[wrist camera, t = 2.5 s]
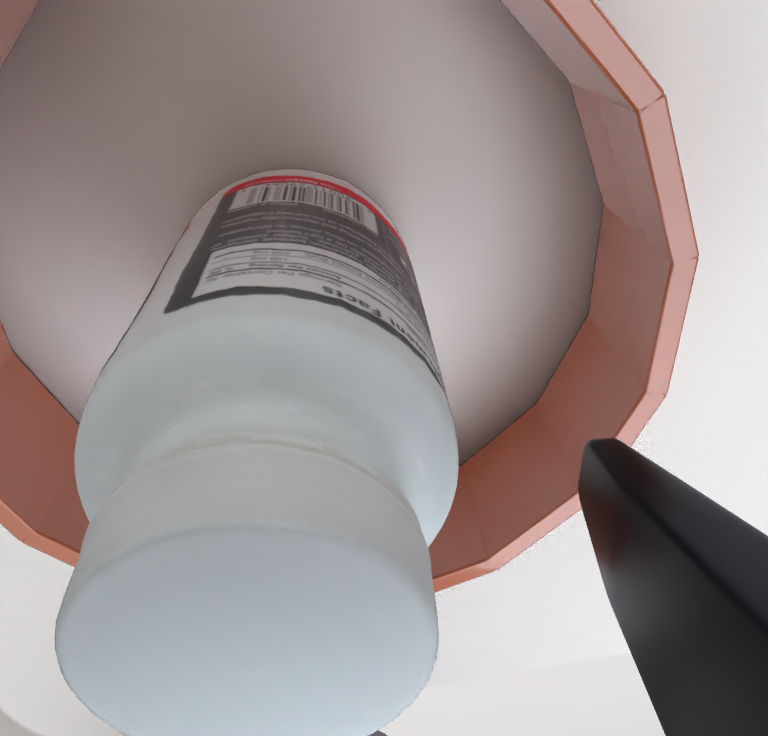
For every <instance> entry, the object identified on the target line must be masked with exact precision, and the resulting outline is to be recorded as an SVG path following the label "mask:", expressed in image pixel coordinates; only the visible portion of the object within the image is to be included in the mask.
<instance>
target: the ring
mask: <svg viewBox="0 0 768 736" xmlns="http://www.w3.org/2000/svg"><path fill="white" fill-rule="evenodd" d="M500 1H501V2H502V3H503V5H504V6H505V7H506V8H507V9H508V10H509V12H510V13H511V14H512V15H513V16H514V17H515V19H516V20H517V21H518V22H519V23H520V24H521V26H522V27H523V28H524V29H525V30H526V32H527V33H528V34H529V35H530V36H531V37H532V39H533V40H534V41H535V42H536V43H537V44H538V46H539V47H540V48H541V49H542V50H543V51H544V53H545V54H546V55H547V56H548V57H549V59H550V60H551V61H552V62H553V63H554V64H555V66H556V67H557V68H558V69H559V70H560V71H561V73H562V74H563V75H564V76H565V77H566V78H567V80H568V81H569V83H570V86H571V90H572V93H573V97H574V100H575V104H576V108H577V111H578V115H579V118H580V122H581V125H582V129H583V132H584V136H585V139H586V143H587V147H588V150H589V154H590V157H591V161H592V164H593V168H594V171H595V175H596V178H597V182H598V186H599V189H600V193H601V196H602V200H603V203H604V207H603V214H602V222H601V229H600V236H599V243H598V250H597V257H596V264H595V271H594V278H593V285H592V293H591V300H590V307H589V314H588V316H587V318H586V320H585V321H584V323H583V325H582V326H581V328H580V330H579V332H578V333H577V335H576V337H575V339H574V340H573V342H572V344H571V345H570V347H569V349H568V351H567V352H566V354H565V356H564V357H563V359H562V361H561V363H560V364H559V366H558V368H557V370H556V371H555V373H554V375H553V376H552V378H551V380H550V382H549V383H548V385H547V387H546V388H545V390H544V392H543V394H542V395H541V397H540V399H539V400H538V402H537V404H535V405H534V406H533V407H532V408H531V409H529V410H528V411H527V412H526V413H524V414H523V415H522V416H521V417H520V418H518V419H517V420H516V421H515V422H514V423H512V424H511V425H510V426H509V427H508V428H506V429H505V430H504V431H503V432H502V433H500V434H499V435H498V436H497V437H496V438H494V439H493V440H492V441H491V442H490V443H488V444H487V445H486V446H485V447H483V448H482V449H481V450H480V451H479V452H477V453H476V454H475V455H474V456H473V457H471V458H470V459H469V460H468V461H467V462H465V463H464V464H463V465H461V466H459V469H458V480H457V487H456V492H455V496H454V499H453V502H452V506H451V509H450V511H449V513H448V516H447V518H446V520H445V522H444V524H443V526H442V528H441V529H440V531H439V532H438V534H437V536H436V537H435V539H434V540H433V542H432V543H431V545H430V546H429V547H428V549H429V555H430V561H431V573H432V580H433V587H434V593H435V592H438V591H440V590H443V589H446V588H449V587H452V586H454V585H457V584H460V583H463V582H466V581H469V580H471V579H474V578H477V577H480V576H483V575H485V574H488V573H491V572H494V571H495V570H498V569H500V568H501V567H502V566H504V565H505V564H507V563H508V562H509V561H511V560H512V559H513V558H515V557H516V556H518V555H519V554H520V553H522V552H523V551H524V550H526V549H527V548H528V547H530V546H531V545H533V544H534V543H535V542H537V541H538V540H539V539H541V538H542V537H544V536H545V535H546V534H548V533H549V532H550V531H552V530H553V529H555V528H556V527H557V526H559V525H560V524H561V523H563V522H564V521H565V520H567V519H568V518H570V517H571V516H572V515H574V514H575V513H576V512H578V511H579V510H581V509H582V507H581V503H580V499H579V494H578V481H579V475H580V468H581V462H582V456H583V449H584V446H585V444H586V442H587V441H589V440H591V439H604V438H615V439H618V440H620V441H622V442H623V443H625V444H626V445H628V446H629V447H631V445H632V444H633V443H634V441H635V440H636V438H637V437H638V435H639V434H640V433H641V431H642V430H643V428H644V427H645V425H646V424H647V423H648V421H649V420H650V418H651V417H652V415H653V414H654V413H655V411H656V410H657V408H658V407H659V405H660V404H661V402H662V401H663V400H664V398H665V397H666V394H667V392H668V389H669V384H670V380H671V375H672V371H673V367H674V362H675V358H676V354H677V349H678V345H679V341H680V336H681V332H682V328H683V323H684V319H685V314H686V310H687V306H688V301H689V297H690V293H691V288H692V284H693V280H694V275H695V271H696V267H697V262H698V256H699V252H698V248H697V243H696V238H695V233H694V228H693V223H692V219H691V214H690V209H689V204H688V199H687V195H686V190H685V185H684V180H683V175H682V171H681V166H680V161H679V156H678V151H677V147H676V142H675V137H674V132H673V127H672V122H671V118H670V113H669V108H668V103H667V98H666V95H665V94H664V91H663V89H662V88H661V86H660V85H659V84H658V82H657V81H656V80H655V79H654V77H653V76H652V75H651V73H650V72H649V71H648V70H647V68H646V67H645V66H644V64H643V63H642V62H641V61H640V59H639V58H638V57H637V55H636V54H635V53H634V52H633V50H632V49H631V48H630V46H629V45H628V44H627V43H626V41H625V40H624V39H623V37H622V36H621V35H620V34H619V32H618V31H617V30H616V28H615V27H614V26H613V25H612V23H611V22H610V21H609V19H608V18H607V17H606V16H605V14H604V13H603V12H602V10H601V9H600V8H599V7H598V5H597V4H596V3H595V1H594V0H500ZM38 2H39V0H0V68H1V66H2V65H3V63H4V61H5V59H6V58H7V56H8V54H9V52H10V51H11V49H12V47H13V45H14V44H15V42H16V40H17V38H18V37H19V35H20V33H21V32H22V30H23V28H24V26H25V25H26V23H27V21H28V19H29V18H30V16H31V14H32V12H33V11H34V9H35V7H36V5H37V4H38ZM78 429H79V424H78V423H77V422H76V421H75V420H74V418H73V417H72V416H71V415H70V414H69V413H68V412H67V411H66V410H65V409H64V408H63V406H62V405H61V404H60V403H59V402H58V401H57V400H56V399H55V398H54V397H53V396H52V394H51V393H50V392H49V391H48V390H47V389H46V388H45V387H44V386H43V385H42V384H41V382H40V381H39V380H38V379H37V378H36V377H35V376H34V375H33V374H32V373H31V372H30V370H29V369H28V368H27V367H26V366H25V365H24V364H23V363H22V362H21V361H20V360H19V358H18V357H17V356H16V355H15V354H14V353H13V351H12V349H11V346H10V344H9V341H8V339H7V336H6V334H5V331H4V329H3V326H2V324H1V321H0V524H1V525H2V526H4V527H5V528H6V529H7V530H8V531H9V532H10V533H11V534H13V535H14V536H15V537H16V538H17V539H18V540H20V541H22V543H24V544H26V545H28V546H30V547H32V548H35V549H37V550H39V551H41V552H43V553H45V554H47V555H50V556H52V557H54V558H56V559H58V560H60V561H62V562H65V563H67V564H69V565H71V566H73V567H75V566H76V564H77V561H78V558H79V556H80V552H81V546H82V542H83V539H84V536H85V533H86V530H87V528H88V525H89V523H90V522H89V520H88V518H87V515H86V513H85V511H84V508H83V505H82V502H81V499H80V496H79V492H78V489H77V484H76V477H75V457H74V452H75V445H76V439H77V433H78Z"/></svg>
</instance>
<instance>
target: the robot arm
mask: <svg viewBox="0 0 768 736" xmlns="http://www.w3.org/2000/svg"><path fill="white" fill-rule="evenodd" d="M578 494H579V499H580V503H581V507H582V510H583V514H584V517H585V521H586V524H587V527H588V531H589V534H590V538H591V541H592V545H593V548H594V552H595V555H596V559H597V562H598V566H599V569H600V572H601V576H602V579H603V583H604V586H605V589H606V592H607V595H608V598H609V600H610V603H611V606H612V608H613V611H614V613H615V616H616V618H617V620H618V623H619V625H620V628H621V630H622V632H623V635H624V637H625V640H626V642H627V644H628V647H629V649H630V651H631V654H632V656H633V659H634V661H635V663H636V666H637V668H638V671H639V673H640V675H641V677H642V680H643V682H644V685H645V687H646V690H647V692H648V694H649V697H650V699H651V702H652V704H653V706H654V709H655V711H656V713H657V716H658V718H659V721H660V723H661V726H662V728H663V730H664V733H665V735H666V736H768V536H767V535H765V534H764V533H762V532H761V531H759V530H758V529H756V528H755V527H753V526H751V525H750V524H748V523H747V522H745V521H744V520H742V519H741V518H739V517H738V516H736V515H734V514H733V513H731V512H730V511H728V510H727V509H725V508H724V507H722V506H721V505H719V504H717V503H716V502H714V501H713V500H711V499H710V498H708V497H707V496H705V495H704V494H702V493H700V492H699V491H697V490H696V489H694V488H693V487H691V486H690V485H688V484H686V483H685V482H683V481H682V480H680V479H679V478H677V477H676V476H674V475H673V474H671V473H669V472H668V471H666V470H665V469H663V468H662V467H660V466H659V465H657V464H656V463H654V462H652V461H651V460H649V459H648V458H646V457H645V456H643V455H642V454H640V453H639V452H637V451H635V450H634V449H632V448H631V447H629V446H628V445H626V444H625V443H623V442H622V441H620V440H618V439H615V438H604V439H591V440H589V441H587V442H586V444H585V446H584V449H583V456H582V462H581V468H580V475H579V481H578Z"/></svg>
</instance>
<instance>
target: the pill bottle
mask: <svg viewBox="0 0 768 736" xmlns="http://www.w3.org/2000/svg"><path fill="white" fill-rule="evenodd" d="M457 445H458V443H457V437H456V431H455V424H454V419H453V416H452V413H451V410H450V406H449V402H448V398H447V394H446V391H445V387H444V383H443V379H442V375H441V371H440V368H439V364H438V361H437V357H436V353H435V349H434V345H433V342H432V339H431V335H430V330H429V326H428V323H427V319H426V315H425V311H424V308H423V305H422V301H421V296H420V293H419V289H418V286H417V282H416V278H415V274H414V271H413V267H412V265H411V262H410V259H409V256H408V253H407V250H406V247H405V244H404V242H403V240H402V238H401V236H400V234H399V232H398V230H397V228H396V227H395V225H394V224H393V222H392V221H391V219H390V218H389V216H388V215H387V214H386V213H385V212H384V211H383V210H382V209H381V208H380V207H379V205H377V204H376V203H375V202H374V201H373V200H372V199H371V198H370V197H368V196H367V195H366V194H365V193H364V192H362V191H361V190H359V189H358V188H356V187H354V186H353V185H351V184H349V183H347V182H345V181H343V180H341V179H338V178H335V177H333V176H330V175H326V174H322V173H318V172H314V171H310V170H297V169H280V170H272V171H265V172H261V173H256V174H253V175H250V176H248V177H245V178H243V179H240V180H238V181H236V182H234V183H232V184H230V185H229V186H227V187H225V188H223V189H222V190H220V191H219V192H218V193H217V194H216V195H214V196H213V197H212V198H211V199H209V200H208V201H207V202H206V203H205V204H204V205H203V206H202V207H201V209H200V210H199V211H198V212H197V213H196V215H195V216H194V217H193V219H192V220H191V221H190V223H189V224H188V226H187V228H186V229H185V231H184V233H183V235H182V236H181V238H180V240H179V241H178V243H177V244H176V245H175V247H174V249H173V251H172V253H171V254H170V256H169V258H168V259H167V261H166V263H165V265H164V267H163V269H162V271H161V273H160V274H159V276H158V278H157V280H156V281H155V283H154V285H153V287H152V289H151V291H150V292H149V294H148V296H147V298H146V299H145V301H144V303H143V305H142V306H141V308H140V310H139V312H138V313H137V315H136V317H135V318H134V320H133V322H132V323H131V325H130V327H129V328H128V330H127V331H126V333H125V334H124V336H123V337H122V339H121V340H120V342H119V344H118V345H117V347H116V349H115V350H114V352H113V354H112V355H111V356H110V358H109V359H108V361H107V362H106V364H105V366H104V367H103V369H102V371H101V373H100V375H99V377H98V379H97V381H96V383H95V386H94V388H93V390H92V392H91V394H90V396H89V398H88V400H87V403H86V405H85V408H84V411H83V413H82V417H81V421H80V425H79V429H78V433H77V439H76V445H75V452H74V457H75V477H76V484H77V489H78V492H79V496H80V499H81V502H82V505H83V508H84V511H85V513H86V515H87V518H88V520H89V522H90V523H89V525H88V528H87V530H86V533H85V536H84V539H83V542H82V546H81V552H80V556H79V558H78V561H77V564H76V566H75V569H74V571H73V574H72V576H71V579H70V582H69V584H68V587H67V589H66V592H65V595H64V597H63V601H62V604H61V607H60V610H59V613H58V617H57V620H56V629H55V650H56V655H57V659H58V662H59V666H60V670H61V672H62V674H63V677H64V679H65V681H66V682H67V684H68V686H69V687H70V689H71V690H72V691H73V693H74V694H75V695H76V696H77V698H78V699H79V700H80V701H81V702H82V703H83V704H84V705H85V706H86V707H87V708H88V709H89V710H90V711H91V712H92V713H93V714H95V715H96V716H97V717H99V718H100V719H102V720H103V721H105V722H106V723H108V724H110V725H111V726H113V727H114V728H115V729H117V730H118V731H120V732H121V733H123V734H125V735H127V736H368V735H370V734H372V733H374V732H375V731H377V730H379V729H380V728H382V727H383V726H385V725H386V724H388V723H389V722H391V721H393V720H394V719H395V718H396V717H397V716H399V715H400V714H401V713H402V711H404V710H405V709H406V708H407V707H409V706H410V705H411V703H412V702H413V701H414V700H415V699H416V697H417V696H418V695H419V693H420V692H421V690H422V689H423V687H424V686H425V684H426V683H427V681H428V679H429V677H430V674H431V672H432V670H433V667H434V664H435V660H436V659H437V650H438V619H437V609H436V602H435V594H434V587H433V580H432V573H431V561H430V555H429V549H428V547H429V546H430V545H431V543H432V542H433V540H434V539H435V537H436V536H437V534H438V532H439V531H440V529H441V528H442V526H443V524H444V522H445V520H446V518H447V516H448V513H449V511H450V509H451V506H452V502H453V499H454V496H455V492H456V487H457V480H458V469H459V458H458V446H457Z"/></svg>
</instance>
